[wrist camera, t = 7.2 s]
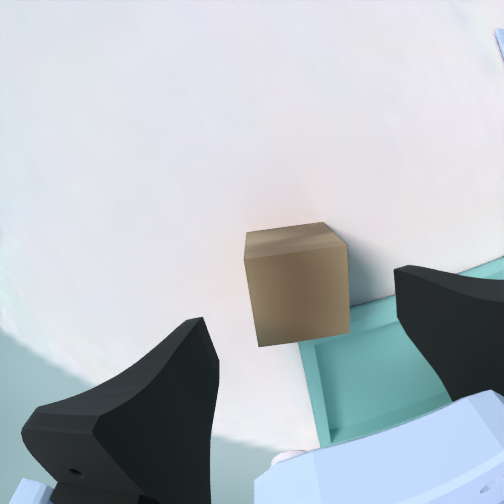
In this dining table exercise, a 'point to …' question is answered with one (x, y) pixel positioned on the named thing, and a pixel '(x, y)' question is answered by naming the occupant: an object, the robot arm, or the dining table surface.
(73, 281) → the dining table surface
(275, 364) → the dining table surface
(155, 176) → the dining table surface
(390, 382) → the tray
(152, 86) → the dining table surface
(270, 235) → the block
